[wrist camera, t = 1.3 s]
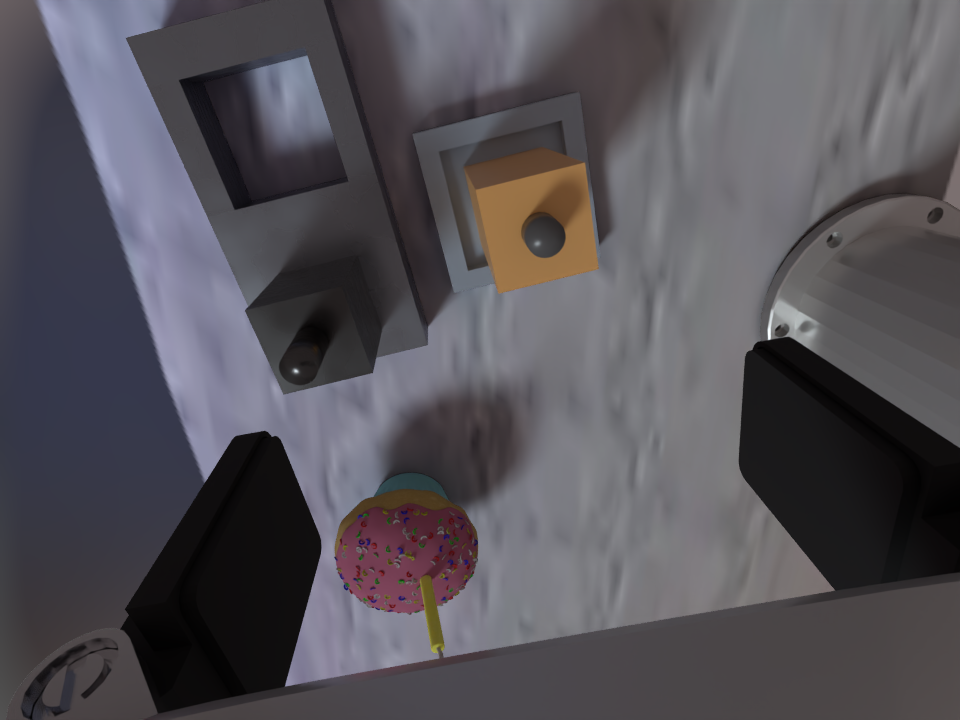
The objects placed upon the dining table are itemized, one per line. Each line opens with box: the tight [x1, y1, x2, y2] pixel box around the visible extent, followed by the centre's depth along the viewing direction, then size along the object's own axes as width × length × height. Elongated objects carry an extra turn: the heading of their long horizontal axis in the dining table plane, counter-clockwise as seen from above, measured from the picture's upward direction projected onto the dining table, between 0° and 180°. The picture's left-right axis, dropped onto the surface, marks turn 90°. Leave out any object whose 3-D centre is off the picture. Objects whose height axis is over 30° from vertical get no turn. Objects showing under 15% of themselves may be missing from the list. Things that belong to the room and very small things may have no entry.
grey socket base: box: [126, 0, 428, 394], centre depth 22 cm, size 16×8×10 cm, turn 13°
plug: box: [464, 147, 599, 293], centre depth 23 cm, size 4×4×9 cm
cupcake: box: [334, 473, 478, 659], centre depth 30 cm, size 9×8×12 cm
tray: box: [412, 92, 601, 293], centre depth 27 cm, size 8×8×1 cm
